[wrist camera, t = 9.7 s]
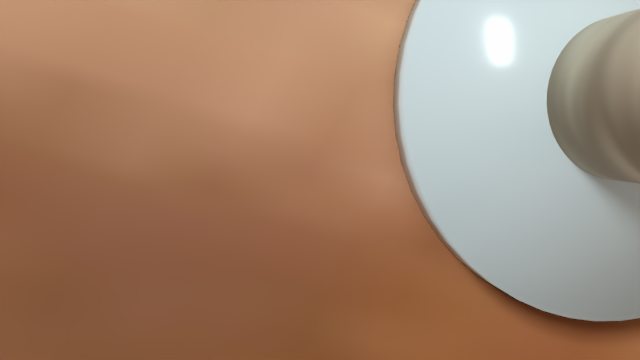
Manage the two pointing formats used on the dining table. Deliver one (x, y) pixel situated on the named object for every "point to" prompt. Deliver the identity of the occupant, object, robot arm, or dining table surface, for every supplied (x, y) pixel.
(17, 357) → the dining table surface
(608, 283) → the plate
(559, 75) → the beige striped cylinder
